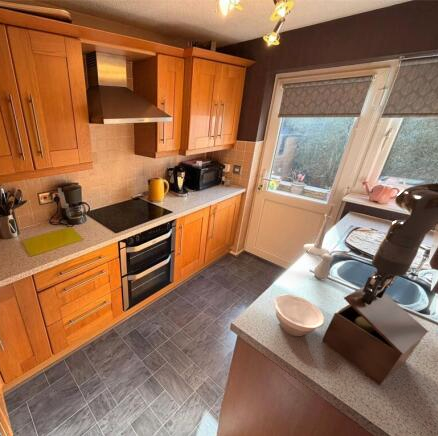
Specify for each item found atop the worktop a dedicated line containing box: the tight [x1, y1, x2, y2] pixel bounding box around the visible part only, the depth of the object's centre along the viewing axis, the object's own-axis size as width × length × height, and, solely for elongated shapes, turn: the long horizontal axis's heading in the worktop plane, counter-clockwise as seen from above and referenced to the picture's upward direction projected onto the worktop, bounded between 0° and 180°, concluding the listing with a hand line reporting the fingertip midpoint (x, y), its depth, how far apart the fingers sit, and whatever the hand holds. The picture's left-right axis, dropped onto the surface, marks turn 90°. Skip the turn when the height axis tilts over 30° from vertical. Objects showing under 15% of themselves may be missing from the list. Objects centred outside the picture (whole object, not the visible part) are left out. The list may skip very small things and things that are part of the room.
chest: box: [321, 303, 425, 386], centre depth 76 cm, size 17×17×14 cm
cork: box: [354, 317, 375, 333], centre depth 79 cm, size 6×6×11 cm
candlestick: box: [303, 203, 336, 257], centre depth 131 cm, size 13×13×30 cm
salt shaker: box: [313, 254, 334, 280], centre depth 112 cm, size 6×6×13 cm
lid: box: [343, 285, 429, 355], centre depth 70 cm, size 17×17×5 cm
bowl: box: [273, 294, 325, 337], centre depth 87 cm, size 16×16×9 cm
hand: (371, 299), depth 74 cm, fingers closed on lid, 6 cm apart
